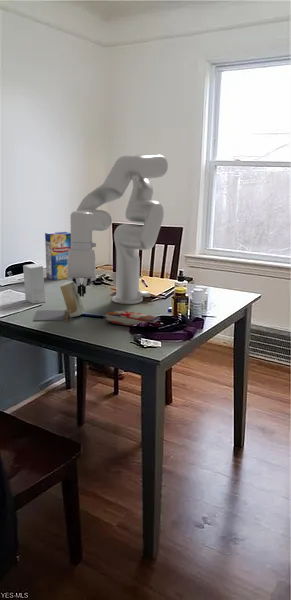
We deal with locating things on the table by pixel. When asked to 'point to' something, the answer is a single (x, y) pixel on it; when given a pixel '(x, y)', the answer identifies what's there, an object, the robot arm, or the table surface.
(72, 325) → the table surface
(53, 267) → the beverage box
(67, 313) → the stop strip
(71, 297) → the skincare box
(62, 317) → the mat
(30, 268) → the skincare box
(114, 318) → the pencil case
